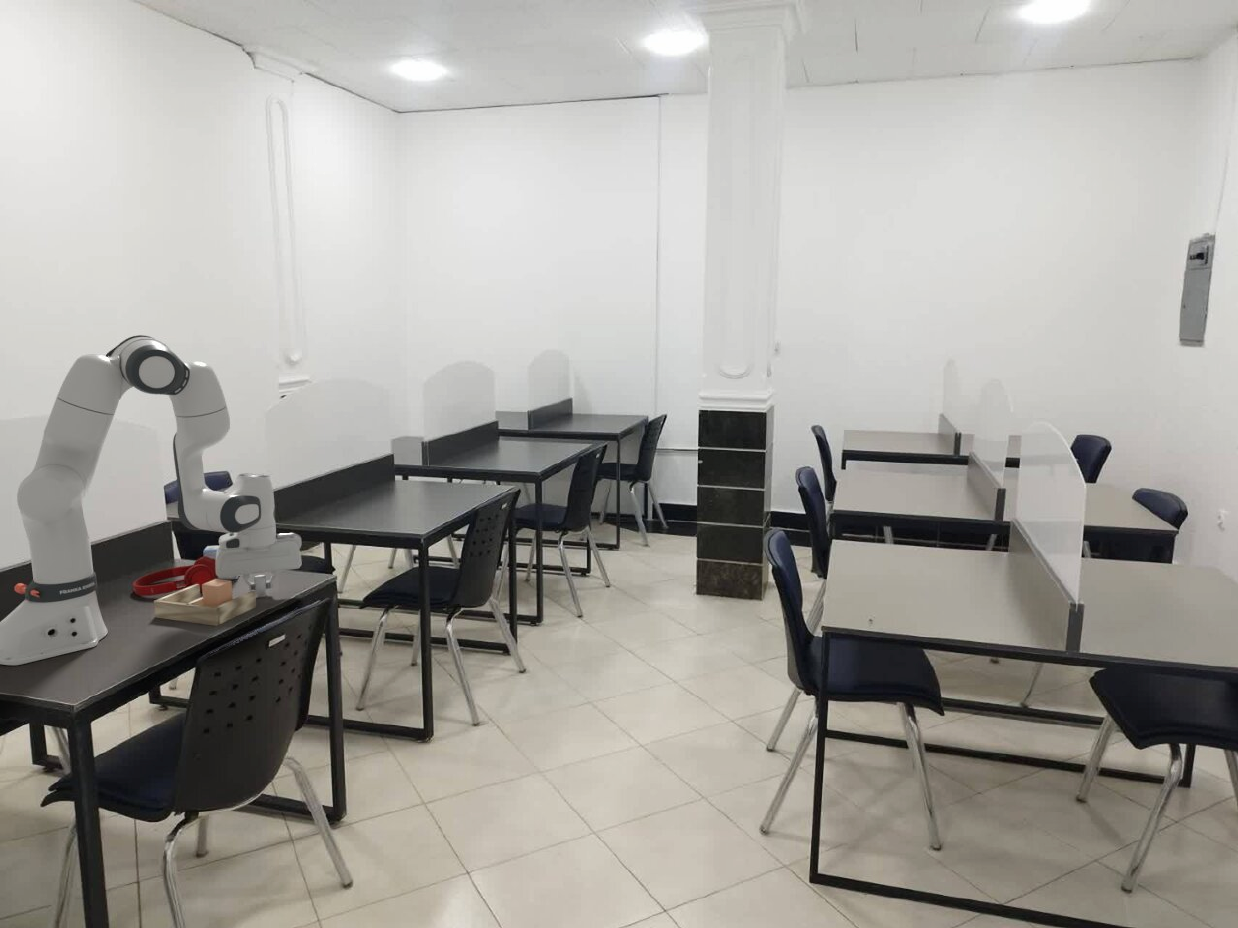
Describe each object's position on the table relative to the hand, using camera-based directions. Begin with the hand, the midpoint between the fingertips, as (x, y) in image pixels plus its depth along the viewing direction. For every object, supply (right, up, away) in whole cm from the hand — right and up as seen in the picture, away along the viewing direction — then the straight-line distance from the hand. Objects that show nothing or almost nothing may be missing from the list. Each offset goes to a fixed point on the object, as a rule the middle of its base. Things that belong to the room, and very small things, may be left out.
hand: (260, 589), depth 221 cm
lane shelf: (-8, -4, -12) cm, 15 cm away
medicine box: (-16, +1, +14) cm, 21 cm away
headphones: (-24, -1, +5) cm, 24 cm away
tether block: (-2, -3, -7) cm, 8 cm away
